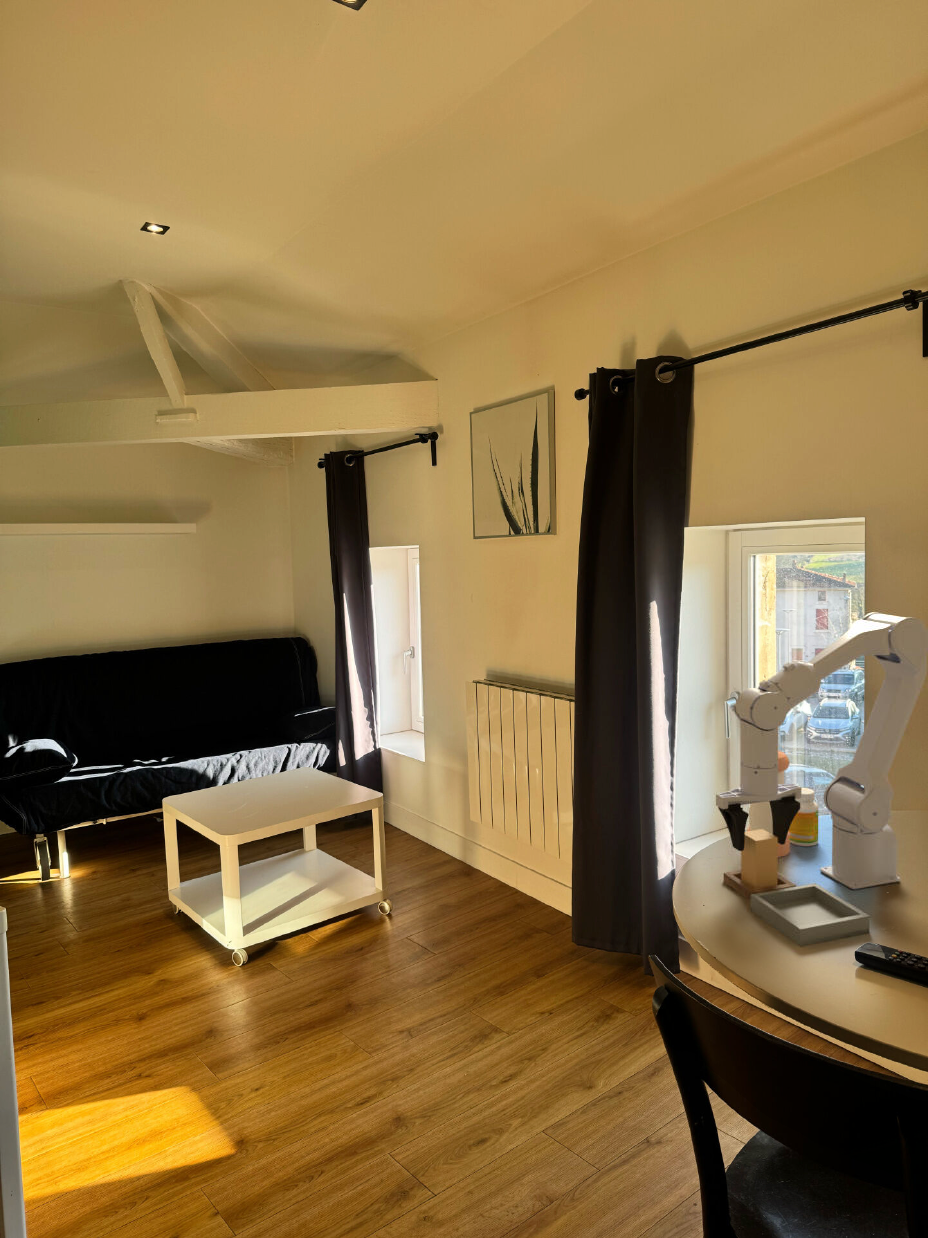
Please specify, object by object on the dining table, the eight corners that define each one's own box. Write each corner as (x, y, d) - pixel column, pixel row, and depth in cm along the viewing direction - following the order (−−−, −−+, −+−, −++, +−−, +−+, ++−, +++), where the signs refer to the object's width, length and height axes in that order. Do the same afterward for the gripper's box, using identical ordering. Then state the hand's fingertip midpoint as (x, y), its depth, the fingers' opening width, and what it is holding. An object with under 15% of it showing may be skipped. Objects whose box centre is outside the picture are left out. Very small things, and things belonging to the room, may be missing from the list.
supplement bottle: (821, 847, 149) (821, 795, 148) (789, 846, 150) (790, 795, 149) (814, 836, 154) (815, 786, 153) (784, 835, 155) (784, 785, 154)
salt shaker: (738, 846, 151) (738, 744, 149) (770, 839, 154) (770, 739, 152) (766, 860, 144) (766, 754, 142) (798, 853, 147) (799, 748, 145)
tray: (815, 898, 129) (815, 883, 129) (869, 932, 118) (869, 916, 118) (750, 910, 126) (750, 894, 126) (800, 946, 115) (800, 929, 115)
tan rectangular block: (762, 881, 136) (762, 829, 135) (777, 891, 132) (777, 837, 131) (741, 885, 135) (741, 832, 134) (755, 895, 131) (755, 841, 130)
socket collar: (765, 874, 139) (765, 866, 138) (796, 894, 131) (796, 885, 131) (723, 881, 137) (723, 873, 136) (752, 902, 129) (752, 893, 129)
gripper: (782, 752, 137) (781, 831, 139) (705, 762, 133) (705, 842, 135) (810, 764, 130) (809, 846, 132) (730, 774, 127) (730, 858, 128)
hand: (758, 845), depth 133 cm, fingers open, 7 cm apart
